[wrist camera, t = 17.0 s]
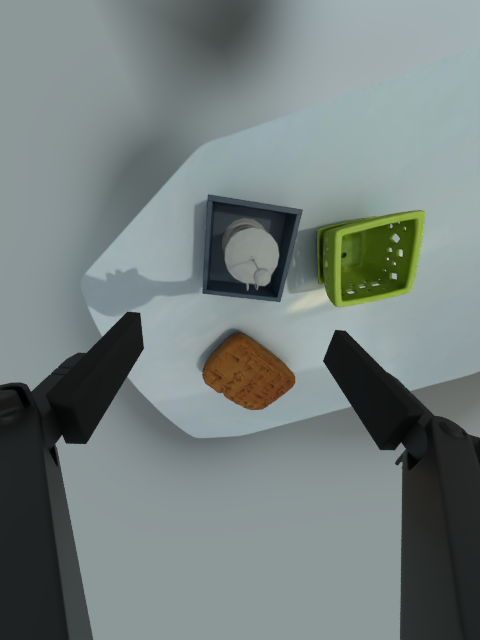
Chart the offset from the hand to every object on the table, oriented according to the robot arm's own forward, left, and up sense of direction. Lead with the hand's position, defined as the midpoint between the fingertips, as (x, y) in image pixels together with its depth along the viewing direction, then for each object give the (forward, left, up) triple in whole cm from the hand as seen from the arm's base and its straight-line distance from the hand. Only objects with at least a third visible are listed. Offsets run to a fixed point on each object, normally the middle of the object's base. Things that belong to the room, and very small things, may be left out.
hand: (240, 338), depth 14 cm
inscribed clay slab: (+30, +8, -34) cm, 46 cm away
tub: (-1, +3, -34) cm, 34 cm away
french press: (-1, +3, -33) cm, 34 cm away
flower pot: (-3, +24, -34) cm, 42 cm away
